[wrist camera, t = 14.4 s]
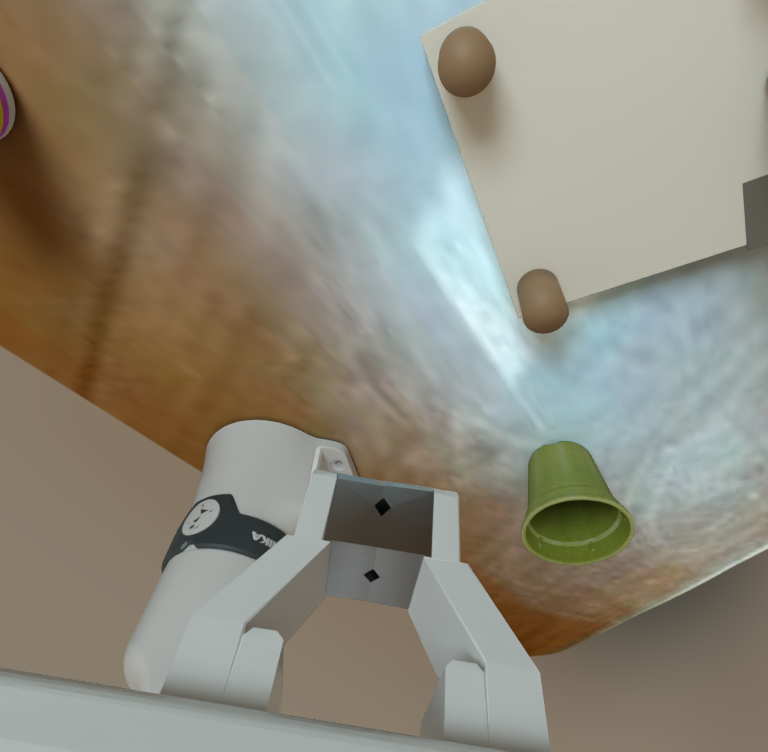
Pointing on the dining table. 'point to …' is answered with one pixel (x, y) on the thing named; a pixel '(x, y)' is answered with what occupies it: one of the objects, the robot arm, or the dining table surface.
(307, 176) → the dining table surface
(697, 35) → the stool seat
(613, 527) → the plant pot
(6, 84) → the supplement bottle
